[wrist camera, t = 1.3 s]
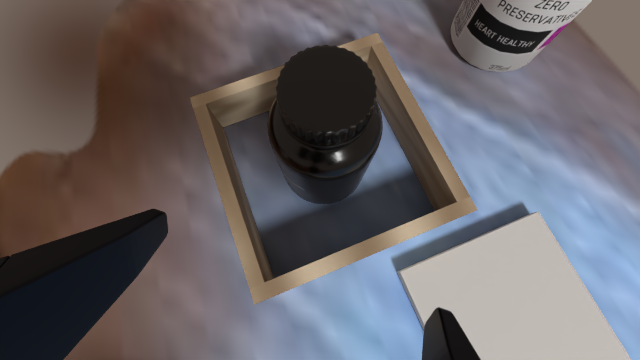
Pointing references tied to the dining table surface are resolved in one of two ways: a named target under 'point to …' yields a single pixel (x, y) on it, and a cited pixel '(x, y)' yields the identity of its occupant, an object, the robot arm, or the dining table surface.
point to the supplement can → (509, 30)
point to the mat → (514, 296)
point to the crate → (407, 126)
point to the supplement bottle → (325, 123)
